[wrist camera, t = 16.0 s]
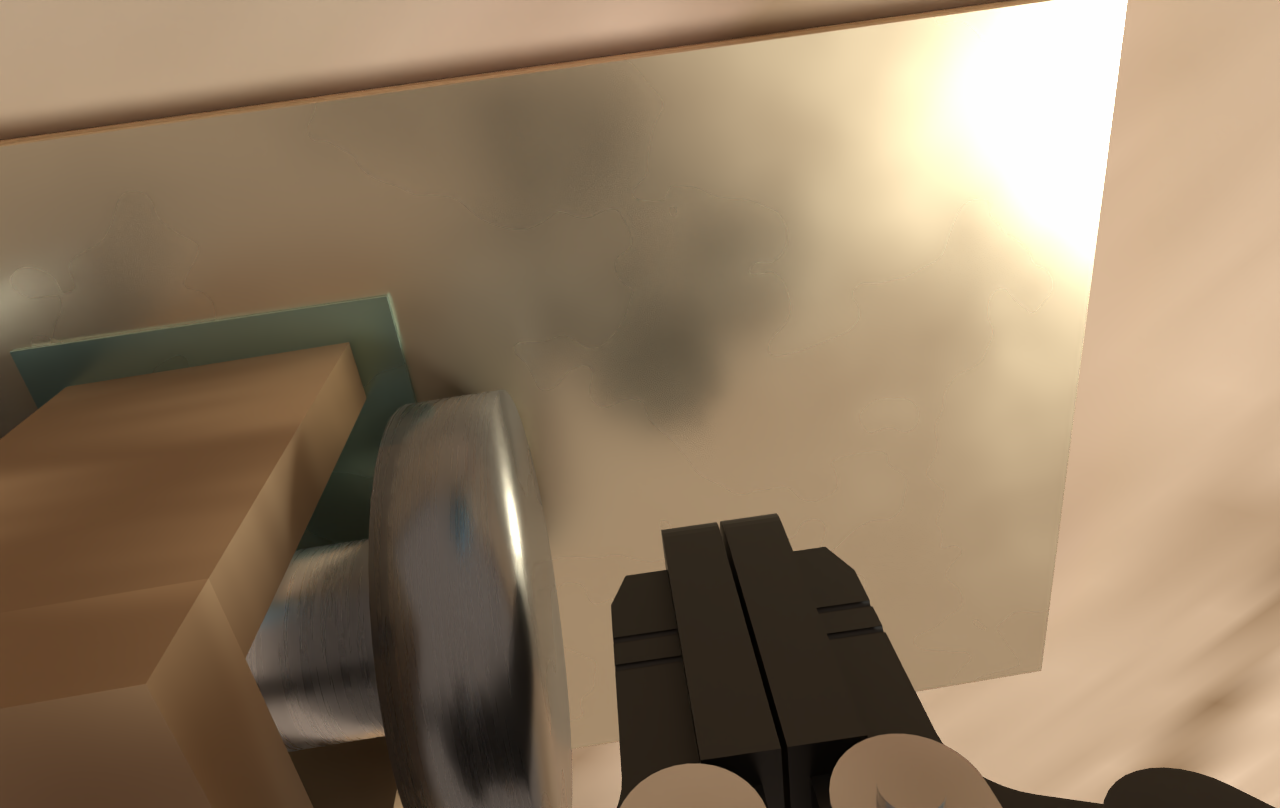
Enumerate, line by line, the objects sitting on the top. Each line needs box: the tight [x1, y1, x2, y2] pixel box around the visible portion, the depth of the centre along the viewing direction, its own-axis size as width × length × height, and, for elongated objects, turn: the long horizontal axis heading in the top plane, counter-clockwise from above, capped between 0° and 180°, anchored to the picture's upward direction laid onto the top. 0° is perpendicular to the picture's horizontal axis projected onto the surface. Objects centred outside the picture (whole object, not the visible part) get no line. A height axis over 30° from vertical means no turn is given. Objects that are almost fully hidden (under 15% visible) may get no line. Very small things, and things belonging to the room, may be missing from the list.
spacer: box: [0, 342, 403, 808], centre depth 10 cm, size 4×6×7 cm
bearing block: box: [0, 0, 1127, 749], centre depth 10 cm, size 26×12×9 cm, turn 97°
